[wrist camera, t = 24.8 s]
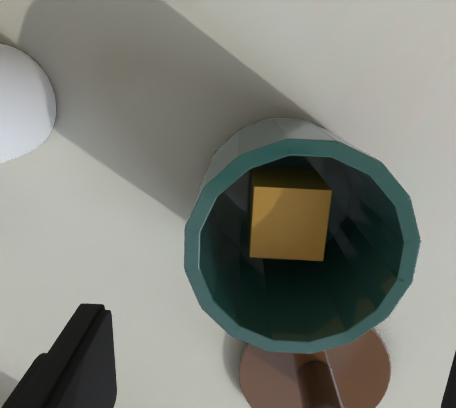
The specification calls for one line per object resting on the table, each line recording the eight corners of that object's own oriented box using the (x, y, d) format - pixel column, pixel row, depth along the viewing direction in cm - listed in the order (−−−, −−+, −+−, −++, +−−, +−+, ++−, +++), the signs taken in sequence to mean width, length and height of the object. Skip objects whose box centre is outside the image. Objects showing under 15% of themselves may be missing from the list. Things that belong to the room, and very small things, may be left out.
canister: (205, 113, 28) (185, 133, 18) (369, 121, 28) (441, 145, 18) (201, 262, 32) (183, 347, 22) (347, 269, 32) (396, 359, 22)
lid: (243, 297, 33) (243, 346, 27) (398, 305, 32) (433, 356, 26) (235, 418, 36) (234, 484, 30) (374, 426, 36) (400, 495, 30)
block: (251, 166, 29) (254, 186, 23) (315, 169, 29) (332, 190, 23) (247, 225, 30) (249, 257, 25) (308, 228, 30) (323, 261, 25)
